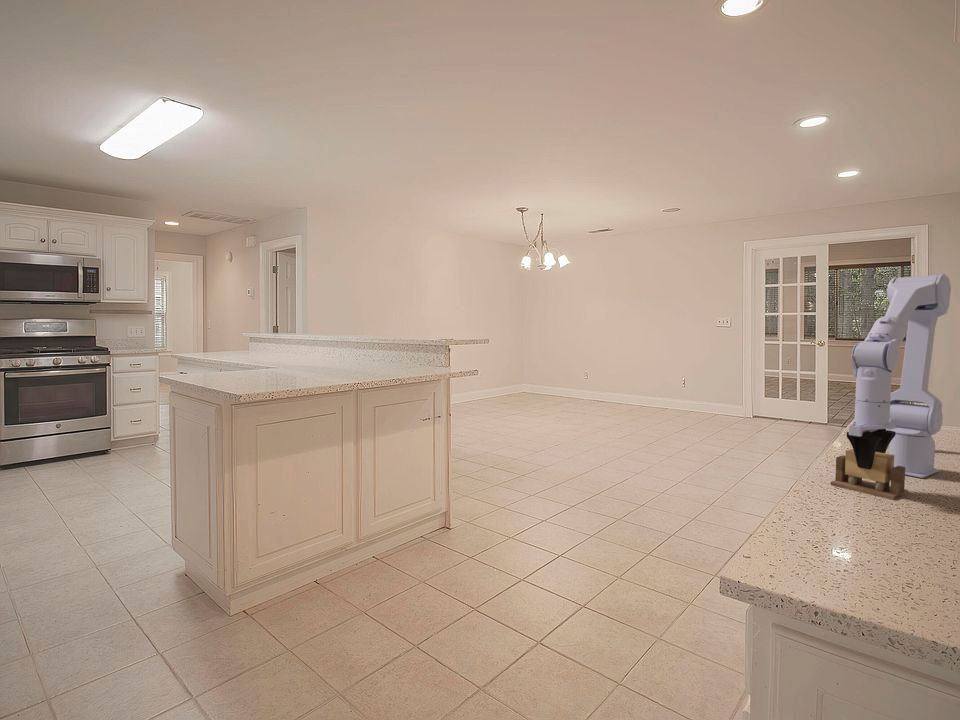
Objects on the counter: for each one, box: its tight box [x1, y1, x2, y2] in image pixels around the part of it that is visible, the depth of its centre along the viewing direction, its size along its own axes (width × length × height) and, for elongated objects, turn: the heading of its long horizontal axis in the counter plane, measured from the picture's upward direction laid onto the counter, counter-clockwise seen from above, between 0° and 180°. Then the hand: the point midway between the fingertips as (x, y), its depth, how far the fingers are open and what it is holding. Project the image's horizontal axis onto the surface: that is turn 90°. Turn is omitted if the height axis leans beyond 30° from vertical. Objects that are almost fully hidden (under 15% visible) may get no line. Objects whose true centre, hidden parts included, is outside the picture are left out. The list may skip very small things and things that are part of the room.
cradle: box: [830, 454, 909, 501], centre depth 107 cm, size 7×11×6 cm, turn 32°
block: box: [845, 448, 895, 483], centre depth 107 cm, size 4×7×5 cm, turn 32°
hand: (869, 466), depth 107 cm, fingers closed on block, 4 cm apart
